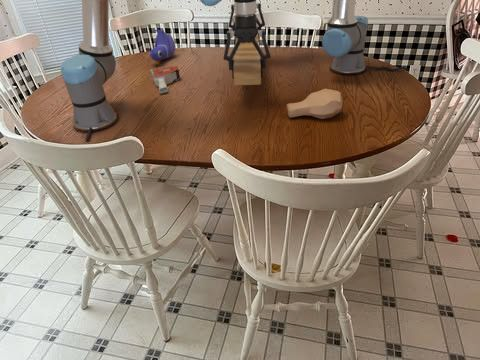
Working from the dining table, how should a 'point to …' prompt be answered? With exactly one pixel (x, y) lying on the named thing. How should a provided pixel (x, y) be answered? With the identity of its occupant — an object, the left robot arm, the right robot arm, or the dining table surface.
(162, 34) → the toy
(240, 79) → the slab
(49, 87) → the dining table surface
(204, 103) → the dining table surface
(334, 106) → the squash
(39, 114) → the dining table surface
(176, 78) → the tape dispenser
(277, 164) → the dining table surface
